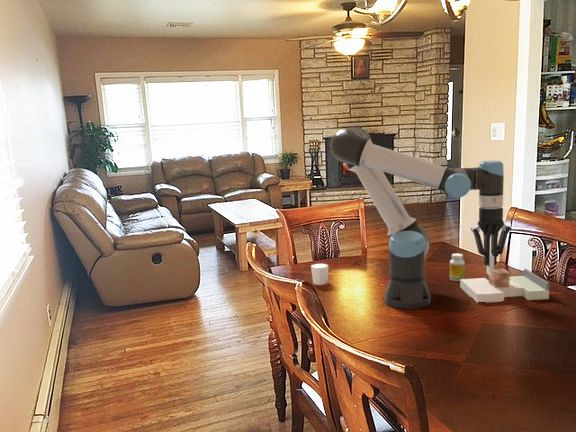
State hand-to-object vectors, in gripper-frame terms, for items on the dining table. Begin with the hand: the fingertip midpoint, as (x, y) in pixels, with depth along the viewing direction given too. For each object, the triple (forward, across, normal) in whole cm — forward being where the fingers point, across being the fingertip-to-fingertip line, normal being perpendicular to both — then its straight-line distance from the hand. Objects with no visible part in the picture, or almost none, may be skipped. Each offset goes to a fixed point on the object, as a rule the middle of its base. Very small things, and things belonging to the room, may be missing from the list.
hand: (490, 274), depth 173 cm
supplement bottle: (+7, -6, +17) cm, 20 cm away
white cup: (+7, -58, +22) cm, 62 cm away
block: (+4, +3, 0) cm, 5 cm away
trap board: (+7, +4, 0) cm, 8 cm away
